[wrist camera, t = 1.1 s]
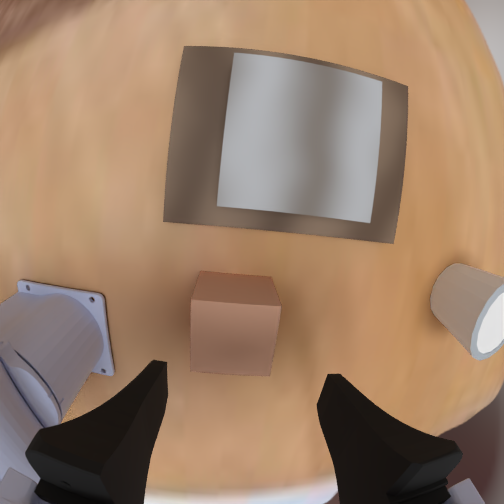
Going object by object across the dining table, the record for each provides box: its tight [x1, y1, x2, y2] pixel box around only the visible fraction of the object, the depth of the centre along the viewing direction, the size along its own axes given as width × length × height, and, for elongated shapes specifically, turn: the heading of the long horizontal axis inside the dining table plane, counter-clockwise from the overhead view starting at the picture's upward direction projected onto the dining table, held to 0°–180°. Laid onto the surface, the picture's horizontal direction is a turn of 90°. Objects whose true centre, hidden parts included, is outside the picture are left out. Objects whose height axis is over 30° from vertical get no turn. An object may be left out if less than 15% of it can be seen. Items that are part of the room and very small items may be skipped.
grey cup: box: [430, 263, 504, 360], centre depth 19 cm, size 7×7×7 cm
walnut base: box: [163, 46, 408, 244], centre depth 17 cm, size 16×12×4 cm
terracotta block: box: [190, 271, 282, 376], centre depth 19 cm, size 5×5×5 cm
